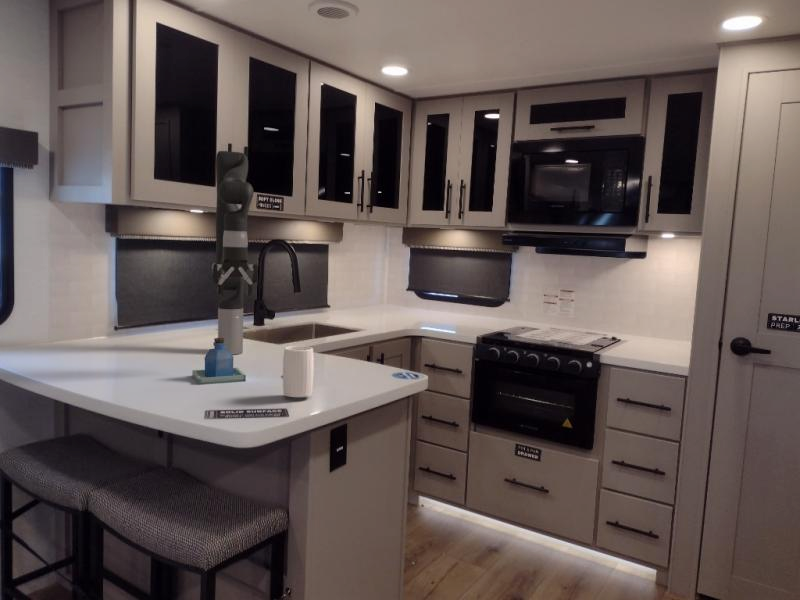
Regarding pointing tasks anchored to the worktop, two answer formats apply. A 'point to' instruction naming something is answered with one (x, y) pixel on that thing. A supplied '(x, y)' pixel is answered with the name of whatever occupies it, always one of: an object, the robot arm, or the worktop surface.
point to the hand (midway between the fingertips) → (234, 296)
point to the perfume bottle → (218, 360)
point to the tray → (201, 379)
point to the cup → (298, 371)
